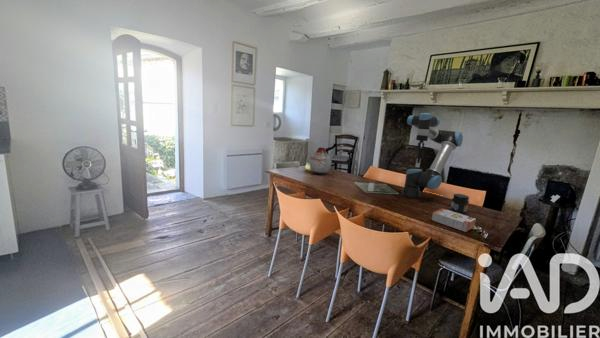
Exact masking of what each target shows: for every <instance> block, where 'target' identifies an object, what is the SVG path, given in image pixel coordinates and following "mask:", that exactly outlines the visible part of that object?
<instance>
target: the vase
mask: <svg viewBox="0 0 600 338" xmlns="http://www.w3.org/2000/svg"><path fill="white" fill-rule="evenodd" d="M331 167H332V157H331V155H329V153H328V152H327V151H326V147H318V148H317V150H316V151H315V152H314V153H312V155H311V156H310V157H309V168H310V170H311V171H312V173H313V174H315V175H317V176H319V175H320V176H324V175H326V174H327V173H329V171H330V169H331Z"/></svg>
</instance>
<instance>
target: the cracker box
mask: <svg viewBox="0 0 600 338" xmlns="http://www.w3.org/2000/svg"><path fill="white" fill-rule="evenodd" d="M431 214H432V215H431V221H433V222H435V223H439V224H441V225H444V226H448V227H450V228H452V229H456V230H458V231H461V232H464V233H467V232H468V231H470V230H473V229H472V228H473V227H474V226H476V221H477V218H475V217H472V216H469V215H465V214H461V213H456V212H453V211H452V210H449V209H445V208H440V209H437V210H435V211H433V212H432V213H431Z"/></svg>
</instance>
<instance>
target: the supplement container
mask: <svg viewBox="0 0 600 338" xmlns="http://www.w3.org/2000/svg"><path fill="white" fill-rule="evenodd" d="M469 199H470V196H468V195H466V194H462V193H454V194H453V197H452V199H451V204H450V211H453V212H456V213H459V214H462V215H465V214H467V211H468V208H469V203H470V201H469Z"/></svg>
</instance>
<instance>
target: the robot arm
mask: <svg viewBox="0 0 600 338" xmlns="http://www.w3.org/2000/svg"><path fill="white" fill-rule="evenodd" d="M406 123H407V125H408V126H414V127H415V128H416V139H415V140H416V141H419V142H418V143H417V154H416V157H415V159H416V160H415V168H408V169H407V170H406V174H405V181H404V187H403V188H402V189H401V193H400V195H401V196H403V197H406V198H409V199H420V198H421V190H420V187H422V188H425V189H429V190H437V189H439V188H440V186H441V185H442V181H443V178H442V174H441V172H442V171H443V170H444V167H445V166H446V163H447V162H448V160H449V158H450V157H451V154H452V152H453V151H454V150H456V149H457V147H461V145H462V144H463V139H464V138H463V137H464V136H463V132H461V131H453V130H446V129H445V130H443V129H442V130H441V129H438V128H437V127H438V126H439V125H440V123H441V121H440V118H439V117H438V116H433V115H432V113H427V112H421V113H420V115H414V114H413V115H409V116H408V117H407V119H406ZM435 127H436V128H435ZM428 139H429V140H431V142H435V143H436V144H439V145H441V147H440V148H439V151H438V152H437V154H436V156H435V158H434V160H433V162H432V163H431V165H430V167H429V168H427V169H426V171H425V172H424V171H423V169H421V168H420V167H421V166H420V165H421V162H422V161H421V160H422V158H423V157H422V156H423V155H422V154H423V150H424V146H425V143H424V142H427V141H428ZM419 168H420V169H419Z"/></svg>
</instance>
